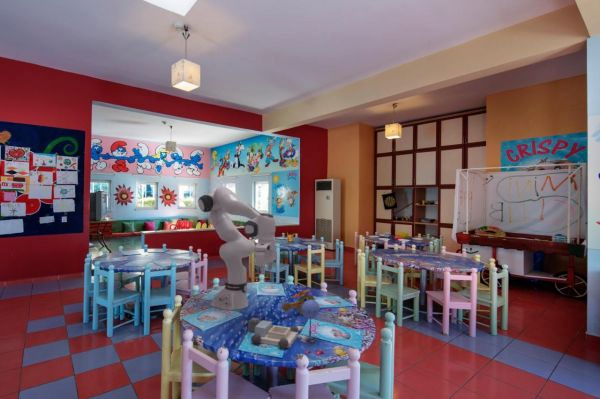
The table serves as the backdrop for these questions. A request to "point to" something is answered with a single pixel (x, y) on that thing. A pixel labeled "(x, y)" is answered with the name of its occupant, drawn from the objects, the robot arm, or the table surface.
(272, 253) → the robot arm
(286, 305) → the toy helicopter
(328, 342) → the table surface
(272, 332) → the chassis
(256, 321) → the engine block
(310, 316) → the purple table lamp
